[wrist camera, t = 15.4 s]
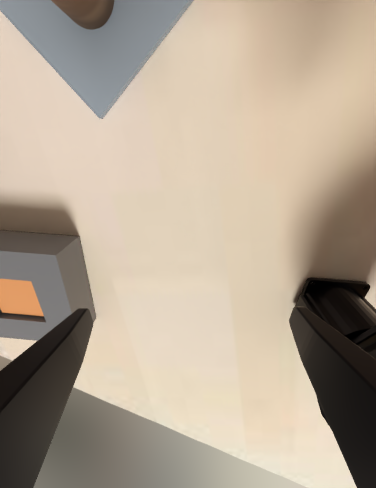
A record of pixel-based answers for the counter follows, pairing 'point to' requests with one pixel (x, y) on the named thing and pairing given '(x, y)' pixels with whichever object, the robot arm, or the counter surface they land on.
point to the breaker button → (19, 298)
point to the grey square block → (44, 280)
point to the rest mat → (96, 43)
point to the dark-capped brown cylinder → (87, 11)
